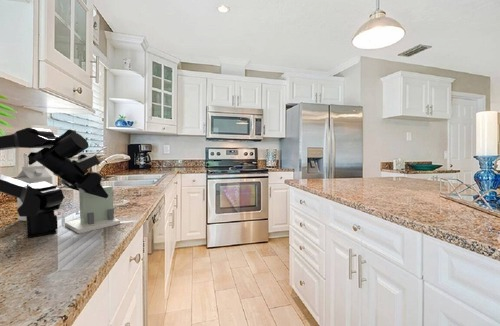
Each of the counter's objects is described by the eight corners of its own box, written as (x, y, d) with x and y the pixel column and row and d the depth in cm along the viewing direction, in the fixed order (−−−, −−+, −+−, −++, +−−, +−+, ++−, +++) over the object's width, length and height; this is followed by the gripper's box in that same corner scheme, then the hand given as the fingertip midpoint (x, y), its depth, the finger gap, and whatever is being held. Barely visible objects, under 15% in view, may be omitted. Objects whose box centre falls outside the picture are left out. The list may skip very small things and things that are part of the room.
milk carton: (18, 220, 86) (15, 166, 85) (40, 215, 93) (38, 165, 91) (32, 222, 84) (29, 167, 83) (54, 216, 90) (51, 165, 89)
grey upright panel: (83, 224, 78) (82, 190, 77) (80, 222, 80) (79, 189, 79) (114, 217, 85) (113, 186, 85) (110, 216, 87) (109, 185, 86)
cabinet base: (78, 233, 73) (78, 218, 72) (65, 225, 80) (64, 211, 80) (120, 223, 82) (119, 210, 82) (104, 217, 90) (104, 204, 89)
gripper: (93, 145, 72) (131, 179, 81) (71, 146, 83) (106, 175, 93) (61, 174, 66) (106, 207, 76) (42, 170, 77) (83, 199, 87)
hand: (101, 195), depth 83 cm, fingers open, 9 cm apart
